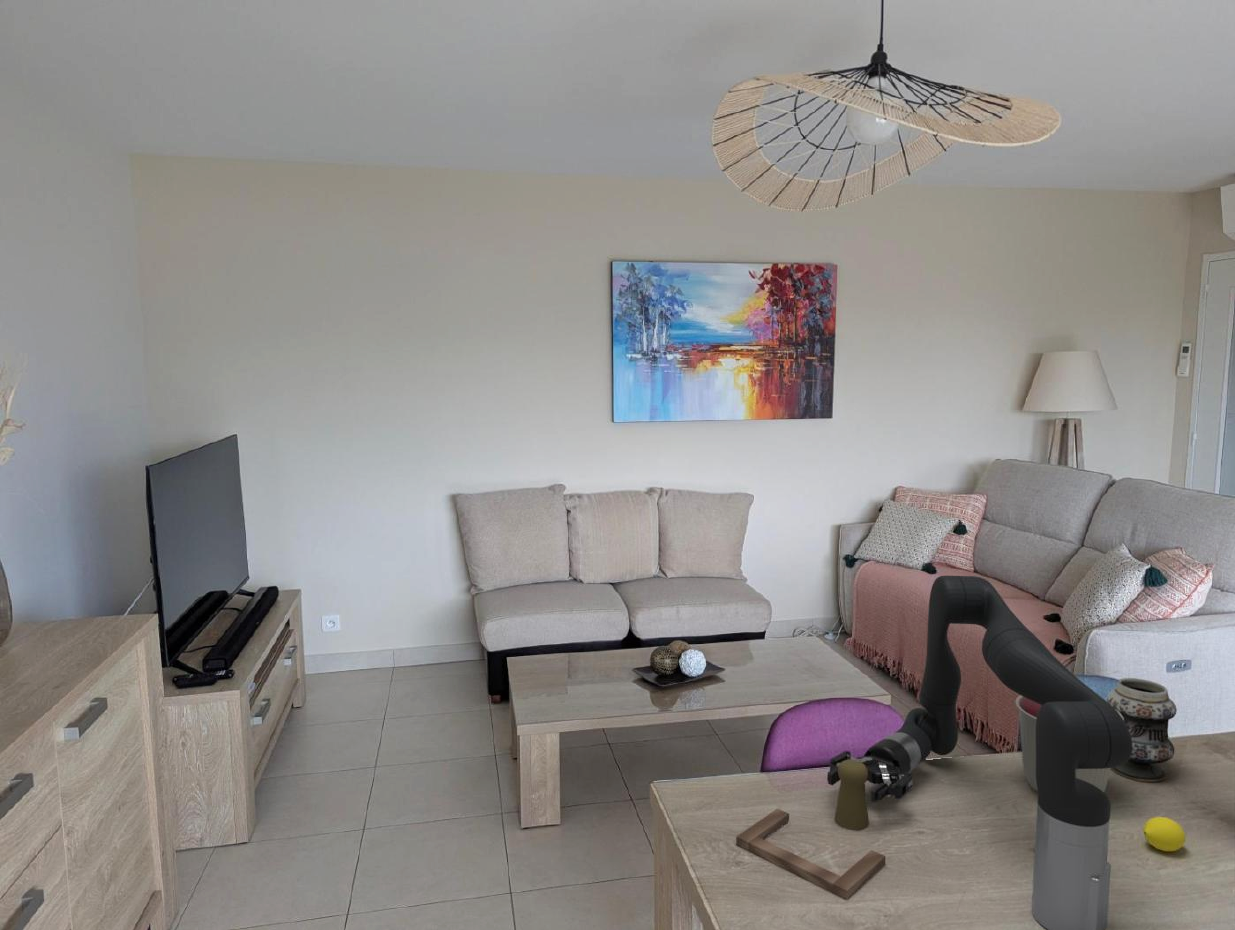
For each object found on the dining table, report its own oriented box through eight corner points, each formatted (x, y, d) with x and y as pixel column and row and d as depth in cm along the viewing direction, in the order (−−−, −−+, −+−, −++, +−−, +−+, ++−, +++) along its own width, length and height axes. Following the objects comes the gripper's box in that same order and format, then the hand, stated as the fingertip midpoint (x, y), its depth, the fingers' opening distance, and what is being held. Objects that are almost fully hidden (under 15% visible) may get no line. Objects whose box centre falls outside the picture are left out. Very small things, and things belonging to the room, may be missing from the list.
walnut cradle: (885, 864, 133) (885, 856, 133) (846, 899, 125) (847, 890, 125) (777, 816, 148) (777, 808, 148) (736, 844, 139) (736, 836, 139)
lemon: (1167, 841, 140) (1174, 812, 140) (1192, 860, 135) (1198, 829, 134) (1130, 838, 140) (1136, 808, 139) (1153, 857, 134) (1159, 826, 134)
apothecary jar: (1171, 765, 166) (1177, 681, 164) (1173, 791, 156) (1180, 701, 154) (1102, 751, 172) (1107, 669, 170) (1100, 775, 162) (1106, 689, 160)
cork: (870, 832, 143) (872, 773, 142) (835, 828, 144) (836, 769, 143) (867, 813, 149) (868, 757, 148) (833, 810, 150) (834, 754, 149)
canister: (1023, 809, 150) (1029, 700, 147) (1002, 764, 167) (1007, 665, 165) (1133, 822, 146) (1141, 709, 143) (1099, 773, 163) (1106, 672, 161)
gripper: (860, 728, 161) (816, 755, 150) (929, 751, 151) (889, 782, 140) (859, 763, 162) (815, 793, 151) (928, 789, 152) (887, 823, 141)
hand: (850, 788), depth 145 cm, fingers open, 8 cm apart
